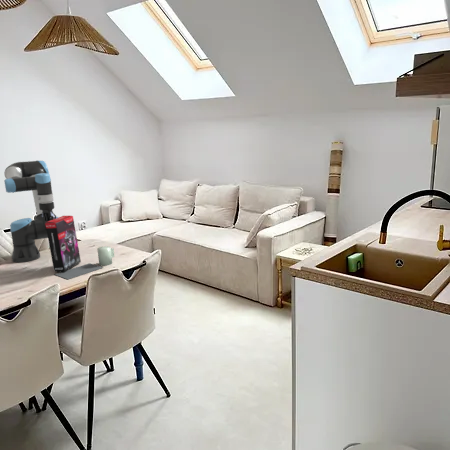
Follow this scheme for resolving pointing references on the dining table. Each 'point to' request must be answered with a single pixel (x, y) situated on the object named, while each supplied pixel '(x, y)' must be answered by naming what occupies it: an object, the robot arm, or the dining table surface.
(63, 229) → the graphics card box
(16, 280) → the dining table surface
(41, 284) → the dining table surface
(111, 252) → the sage mug
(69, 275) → the display mat
